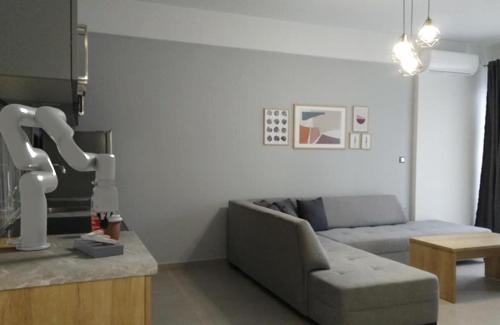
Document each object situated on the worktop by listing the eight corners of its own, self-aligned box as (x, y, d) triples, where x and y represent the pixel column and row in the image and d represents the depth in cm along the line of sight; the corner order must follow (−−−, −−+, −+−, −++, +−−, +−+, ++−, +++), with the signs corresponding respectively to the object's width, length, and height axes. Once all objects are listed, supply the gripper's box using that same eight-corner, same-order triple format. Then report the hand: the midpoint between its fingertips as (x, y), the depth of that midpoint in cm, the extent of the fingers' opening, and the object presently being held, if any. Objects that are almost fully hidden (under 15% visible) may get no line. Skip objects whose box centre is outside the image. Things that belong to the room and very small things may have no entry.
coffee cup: (121, 239, 194) (121, 213, 194) (122, 242, 185) (123, 216, 185) (100, 240, 190) (101, 214, 190) (100, 243, 182) (101, 216, 182)
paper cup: (87, 235, 203) (87, 206, 203) (102, 233, 208) (103, 205, 208) (93, 237, 197) (94, 207, 197) (109, 235, 203) (109, 207, 203)
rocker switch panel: (95, 258, 155) (95, 246, 155) (74, 247, 173) (74, 237, 173) (123, 254, 162) (123, 243, 162) (100, 244, 180) (100, 234, 180)
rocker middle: (90, 240, 163) (90, 236, 164) (86, 238, 167) (86, 235, 167) (109, 239, 169) (110, 236, 169) (105, 237, 172) (106, 234, 172)
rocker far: (84, 240, 169) (84, 237, 169) (81, 238, 172) (80, 235, 172) (103, 233, 174) (102, 230, 174) (99, 232, 177) (99, 229, 177)
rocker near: (96, 241, 158) (97, 237, 158) (92, 239, 162) (93, 236, 162) (116, 243, 163) (117, 240, 163) (111, 242, 167) (112, 238, 167)
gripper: (89, 184, 162) (88, 231, 162) (126, 184, 171) (125, 228, 171) (83, 183, 167) (82, 229, 167) (119, 183, 177) (117, 226, 177)
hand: (103, 228), depth 169 cm, fingers closed
